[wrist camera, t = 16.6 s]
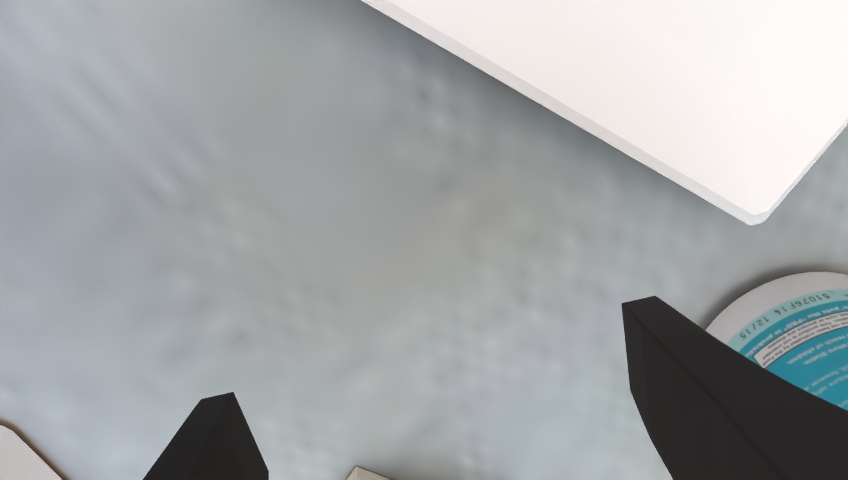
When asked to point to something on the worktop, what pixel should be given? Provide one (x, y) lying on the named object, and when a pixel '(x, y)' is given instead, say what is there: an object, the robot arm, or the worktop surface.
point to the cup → (21, 460)
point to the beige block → (364, 475)
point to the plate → (670, 80)
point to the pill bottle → (794, 331)
